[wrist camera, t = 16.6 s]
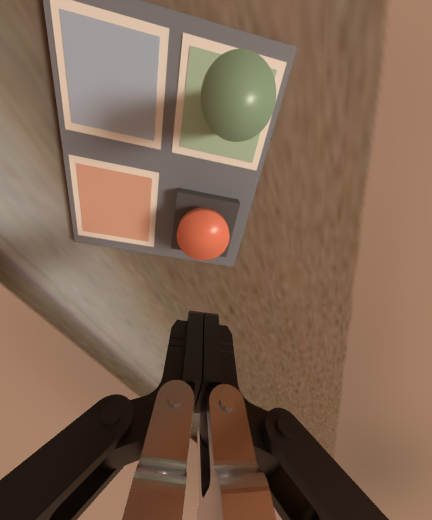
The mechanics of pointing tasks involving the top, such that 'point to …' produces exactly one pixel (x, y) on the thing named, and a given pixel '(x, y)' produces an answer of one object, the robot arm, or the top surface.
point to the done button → (203, 233)
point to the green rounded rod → (238, 95)
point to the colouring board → (150, 123)
